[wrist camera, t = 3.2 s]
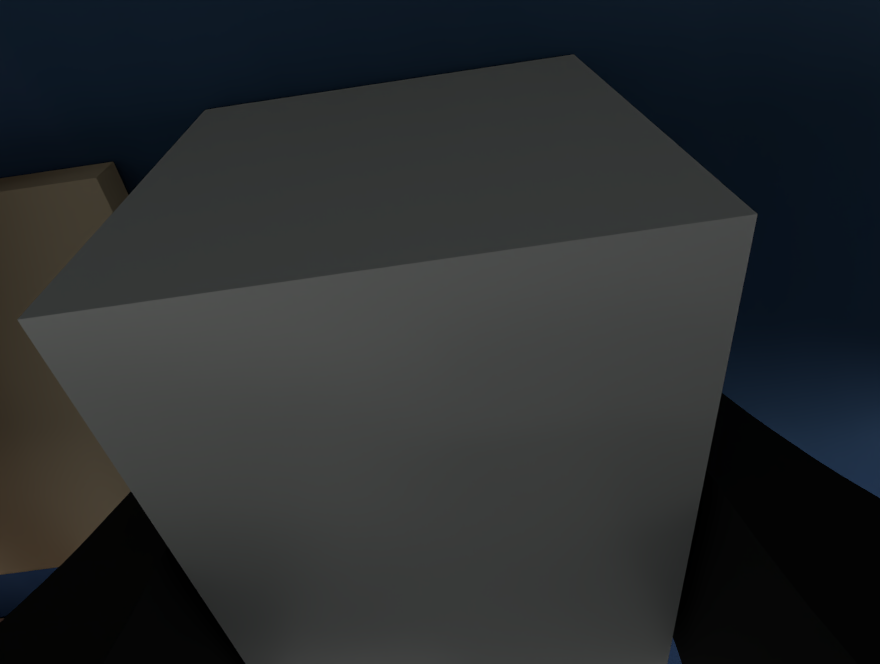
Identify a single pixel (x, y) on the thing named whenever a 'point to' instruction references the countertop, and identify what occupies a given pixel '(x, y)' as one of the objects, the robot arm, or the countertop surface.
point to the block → (416, 366)
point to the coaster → (47, 374)
